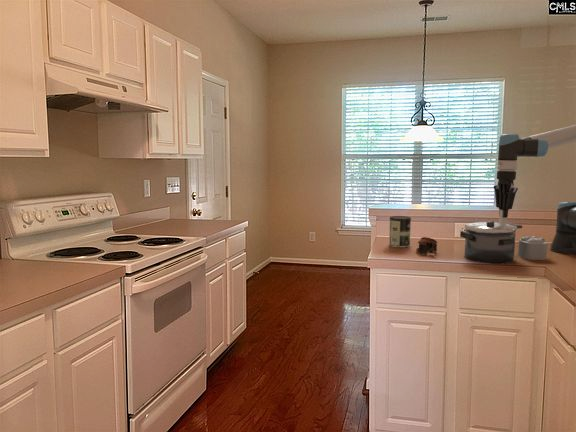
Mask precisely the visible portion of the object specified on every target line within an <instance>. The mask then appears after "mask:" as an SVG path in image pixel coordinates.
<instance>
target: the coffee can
mask: <svg viewBox="0 0 576 432" xmlns="http://www.w3.org/2000/svg"><path fill="white" fill-rule="evenodd" d="M411 221H412V217H410V216H406V215H405V216H404V215H393V216H392V215H391V216H389V235H388V236H389V237H388V239H389V240H388V245H389V247H394V248H408V247H410V246H411Z"/></svg>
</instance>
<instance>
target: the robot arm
mask: <svg viewBox="0 0 576 432" xmlns="http://www.w3.org/2000/svg"><path fill="white" fill-rule="evenodd" d="M573 143H576V124H572V125H569V126H566V127H562V128H558V129H554V130H549V131H546V132H542V133H537V134H533V135H528V136H526V137H522V138H520V135H519V134H517V133H504V134H501V135H500V136H499V140H498V153H497V171H496V179H497V180H498V181H497V184H496V185H495V184H494V185H493V190H494V196H495V207H496V208H498V211H499V214H498V216H499V218H498V223H499V225H507V223H508V216H509V215H508V214H509V210H513V207H514V201H515V198H516V194H517V192H518V187H515V182H514V181H515V180H516V177H517V171H516V170H517V166H518V157H519V158H520V157H524V158H528V157H529V158H530V157H532V158H533V157H534V158H540V157H541V158H543V157H545V156H546V155H547V153H548V150H549V149H553V148H557V147H560V146H564V145H565V146H566V145H569V144H573ZM556 211H557V212H556V213H557V214H556V226H555V234H554V237H553V239H552V242H551V243H550V248H549V249H550V251H552V252H556V253H560V254H568V255H576V201H567V202H566V201H564V202H563V201H562V202H559V203H558V205H557V210H556Z"/></svg>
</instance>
